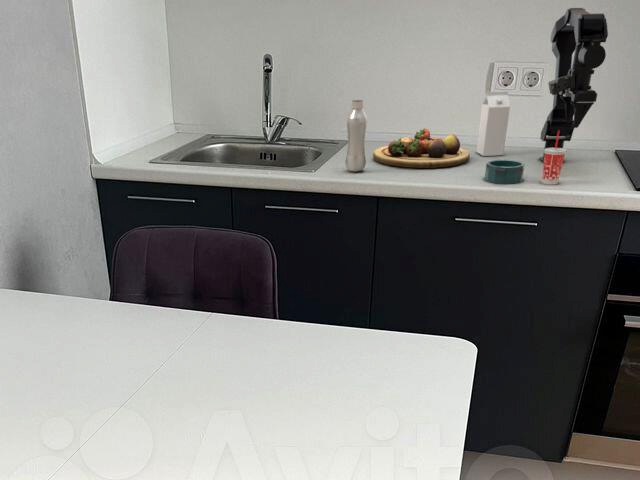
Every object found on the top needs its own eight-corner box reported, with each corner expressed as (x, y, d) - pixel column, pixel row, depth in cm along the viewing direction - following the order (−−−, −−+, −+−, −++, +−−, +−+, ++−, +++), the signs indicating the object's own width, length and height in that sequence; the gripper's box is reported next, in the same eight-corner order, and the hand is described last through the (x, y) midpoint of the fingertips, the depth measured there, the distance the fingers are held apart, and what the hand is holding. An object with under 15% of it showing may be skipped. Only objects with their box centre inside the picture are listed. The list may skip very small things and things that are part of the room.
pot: (525, 176, 221) (528, 160, 218) (516, 186, 210) (519, 169, 208) (490, 173, 225) (492, 157, 222) (480, 183, 214) (482, 167, 212)
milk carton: (476, 152, 252) (483, 90, 241) (496, 151, 253) (504, 90, 242) (482, 156, 246) (490, 93, 236) (503, 155, 247) (512, 92, 236)
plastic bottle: (367, 169, 233) (370, 99, 222) (362, 173, 228) (365, 102, 217) (348, 168, 235) (350, 99, 224) (342, 172, 230) (344, 102, 219)
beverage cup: (563, 181, 214) (572, 129, 206) (557, 186, 209) (567, 132, 202) (542, 179, 216) (550, 127, 209) (536, 183, 212) (544, 131, 204)
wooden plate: (390, 147, 262) (392, 122, 258) (479, 153, 251) (482, 127, 246) (359, 165, 239) (360, 137, 234) (455, 172, 227) (458, 143, 222)
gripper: (546, 62, 217) (537, 120, 226) (561, 69, 202) (551, 130, 211) (585, 62, 216) (574, 120, 225) (603, 68, 201) (590, 130, 210)
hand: (571, 125), depth 218 cm, fingers open, 9 cm apart
